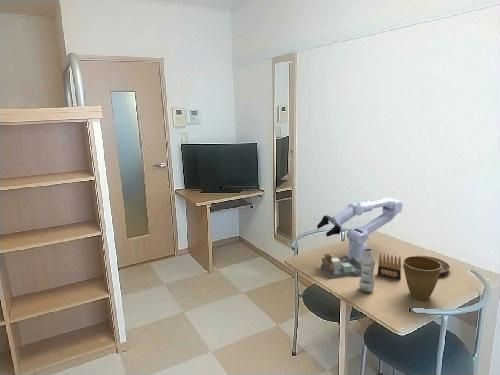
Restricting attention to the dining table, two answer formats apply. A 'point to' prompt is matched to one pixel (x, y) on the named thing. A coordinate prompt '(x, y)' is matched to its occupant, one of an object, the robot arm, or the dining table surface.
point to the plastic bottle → (367, 271)
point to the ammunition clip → (389, 267)
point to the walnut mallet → (328, 263)
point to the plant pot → (421, 276)
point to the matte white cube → (335, 262)
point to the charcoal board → (336, 272)
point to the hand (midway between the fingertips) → (321, 231)
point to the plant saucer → (444, 267)
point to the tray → (354, 265)
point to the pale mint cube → (346, 267)
